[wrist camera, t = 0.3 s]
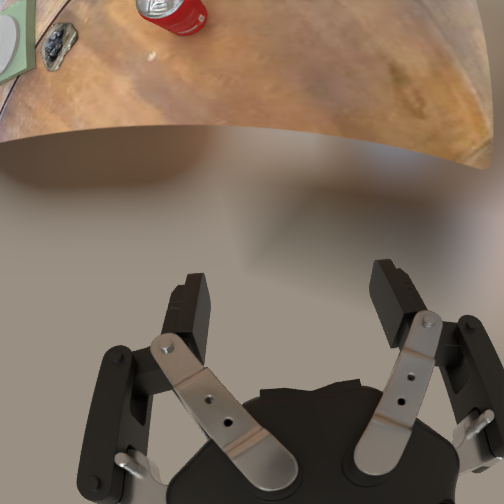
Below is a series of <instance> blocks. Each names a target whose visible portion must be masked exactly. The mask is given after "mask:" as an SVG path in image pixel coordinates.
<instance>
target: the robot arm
mask: <svg viewBox="0 0 504 504" xmlns="http://www.w3.org/2000/svg"><path fill="white" fill-rule="evenodd" d="M369 292H370V297H371V299H372V302H373V304H374V307H375V309H376V312H377V314H378V317H379V319H380V321H381V324H382V326H383V329H384V332H385V335H386V337H387V340H388V342H389V345H390V348H397V347H399V349H400V353H399V355H398V358H397V360H396V362H395V365H394V367H393V370H392V372H391V374H390V376H389V378H388V380H387V383H386V385H385V387H384V389H383V391H380V390H378V389H375V388H372V387H368V386H361V383H360V379H355V380H349V381H342V382H335V383H333V384H330V385H327V386H325V387H322V388H319V389H316V390H313V391H305V390H297V389H289V388H278V389H262V390H260V396H259V397H256V398H253V399H251V400H249V401H247V402H245V403H243V404H242V405H241V404H240V403H239V402H238V401H237V400H236V399H235V398H234V397H233V395H232V394H231V393H230V392H229V391H228V390H227V389H226V387H225V386H224V385H223V384H222V383H221V382H220V381H219V379H218V378H217V377H216V376H215V375H214V374H213V373H212V371H211V370H210V369H209V368H208V367H206V368H205V367H204V366H203V365H204V363H205V353H206V344H207V336H208V327H209V319H210V310H211V303H210V296H209V292H208V287H207V283H206V278H205V275H204V273H193V274H188V275H187V278H186V282H185V285H178V286H177V287H176V288H175V290H174V291H173V292H172V294H171V297H170V301H169V304H168V310H167V312H166V316H165V320H164V324H163V328H162V332H161V335H160V336H158V337H156V338H155V339H154V340H153V342H152V344H151V346H149V347H147V348H144V349H140V350H136V351H132V352H131V350H130V349H129V348H128V347H126V346H122V345H119V346H115V347H112V348H110V349H109V350H108V351H107V352H106V353H105V355H104V357H103V360H102V363H101V367H100V370H99V374H98V378H97V382H96V386H95V390H94V394H93V398H92V402H91V406H90V411H89V415H88V420H87V424H86V429H85V434H84V439H83V445H82V450H81V456H80V462H79V468H78V474H77V488H78V490H79V492H80V493H81V495H82V496H83V497H84V498H86V499H87V500H90V501H92V502H95V503H97V504H455V488H456V482H457V478H458V476H460V475H463V474H465V473H468V472H470V471H472V472H474V473H481V472H483V471H485V470H486V469H488V468H490V467H491V466H493V465H495V464H496V463H498V462H499V461H501V460H503V459H504V369H503V366H502V364H501V362H500V359H499V357H498V355H497V353H496V351H495V349H494V347H493V344H492V342H491V340H490V338H489V336H488V334H487V333H486V330H485V329H484V327H483V325H482V323H481V322H480V320H478V319H477V318H476V317H474V316H471V315H464V316H462V317H461V318H460V319H459V321H458V323H453V322H444V321H442V320H441V318H440V317H439V316H438V315H437V314H436V313H434V312H432V311H428V309H427V308H426V306H425V304H424V302H423V300H422V299H421V297H420V295H419V293H418V291H417V290H416V288H415V286H414V284H412V281H411V279H410V277H409V276H408V274H407V273H405V272H404V271H403V270H402V269H400V268H399V269H396V267H395V266H394V264H393V262H392V261H391V260H390V259H382V260H375V261H374V264H373V269H372V274H371V280H370V285H369ZM434 366H439V369H440V371H441V374H442V377H443V380H444V383H445V386H446V389H447V392H448V396H449V398H450V402H451V405H452V408H453V412H454V415H455V419H456V423H457V426H456V427H455V429H454V432H453V445H452V444H451V443H450V442H449V441H448V440H446V439H445V438H444V437H442V436H441V435H440V434H438V433H437V432H436V431H434V430H433V429H431V428H430V427H429V426H427V425H426V424H424V423H423V422H422V421H420V420H419V419H418V418H417V414H418V412H419V409H420V406H421V404H422V401H423V398H424V396H425V393H426V390H427V387H428V384H429V381H430V378H431V375H432V372H433V368H434ZM169 390H172V391H173V392H174V394H175V395H176V396H177V398H178V399H179V401H180V402H181V403H182V405H183V407H184V408H185V409H186V411H187V412H188V413H189V415H190V416H191V418H192V419H193V420H194V422H195V423H196V425H197V426H198V428H199V429H200V430H201V432H202V433H203V434H204V436H205V437H206V438H207V439H208V441H207V442H206V443H205V444H204V445H203V447H201V448H200V450H199V451H198V452H197V453H196V454H195V455H194V456H193V457H192V458H191V459H190V460H189V461H188V462H187V463H186V464H185V466H183V467H182V469H181V470H180V471H179V472H178V473H177V474H176V475H175V476H174V477H173V478H172V479H171V481H170V483H169V485H164V484H163V483H162V481H161V479H160V476H159V469H158V467H157V465H156V464H155V463H154V462H153V461H152V460H150V459H149V458H148V457H147V447H148V438H149V437H148V436H149V428H150V418H151V410H152V401H153V394H157V393H161V392H165V391H169Z"/></svg>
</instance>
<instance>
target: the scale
mask: <svg viewBox="0 0 504 504" xmlns="http://www.w3.org/2000/svg"><path fill="white" fill-rule="evenodd" d="M35 67H36V58H35V0H19V1H18V2H16V3H14V4H13V5H11V6H10V7H8V8H7V9H5V10H4V11H2V12H1V13H0V85H1V84H3V83H5V82H7V81H9V80H11V79H12V78H14V77H16V76H18V75H20V74H22V73H24V72H26V71H29V70H31V69H33V68H35Z"/></svg>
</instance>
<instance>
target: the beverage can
mask: <svg viewBox="0 0 504 504" xmlns="http://www.w3.org/2000/svg"><path fill="white" fill-rule="evenodd" d="M136 7H137V10H138V12H139V14H140V15H141V16H142V17H143V18H144V19H146V20H148V21H150V22H152V23H154V24H156V25H158V26H160V27H162V28H164V29H166V30H168V31H170V32H172V33H174V34H177V35H181V36H186V35H191V34H194V33H196V32H197V31H199V30H200V29H201V28H202V27H203V26H204V24H205V23H206V20H207V10H206V8H205V6H204V5H203V4H202V3H201V1H200V0H136Z"/></svg>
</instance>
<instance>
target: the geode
mask: <svg viewBox="0 0 504 504" xmlns="http://www.w3.org/2000/svg"><path fill="white" fill-rule="evenodd" d="M76 36H77V33H76V32H75V29H74V28H73V27H72V28H71V23H67V24H65V22H64V23H62V24H61V25H59V24H58V23H55V24H53V27H52V28H51V29H50V30H49V31H48V33H47V34H46V38H44V42H43V43H42V49H41V55H42V58H43V59H44V63H45V68H46V69H47V70H48V71H55V70H57V69H58V68H59V65H60V63H61V62H62V61H63V56H64V54H66V51H67V50H68V49H70V46H71V45H72V44H73V43H74V42H75V39H76V38H77V37H76ZM46 41H47V42H46ZM65 56H66V55H65Z"/></svg>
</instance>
